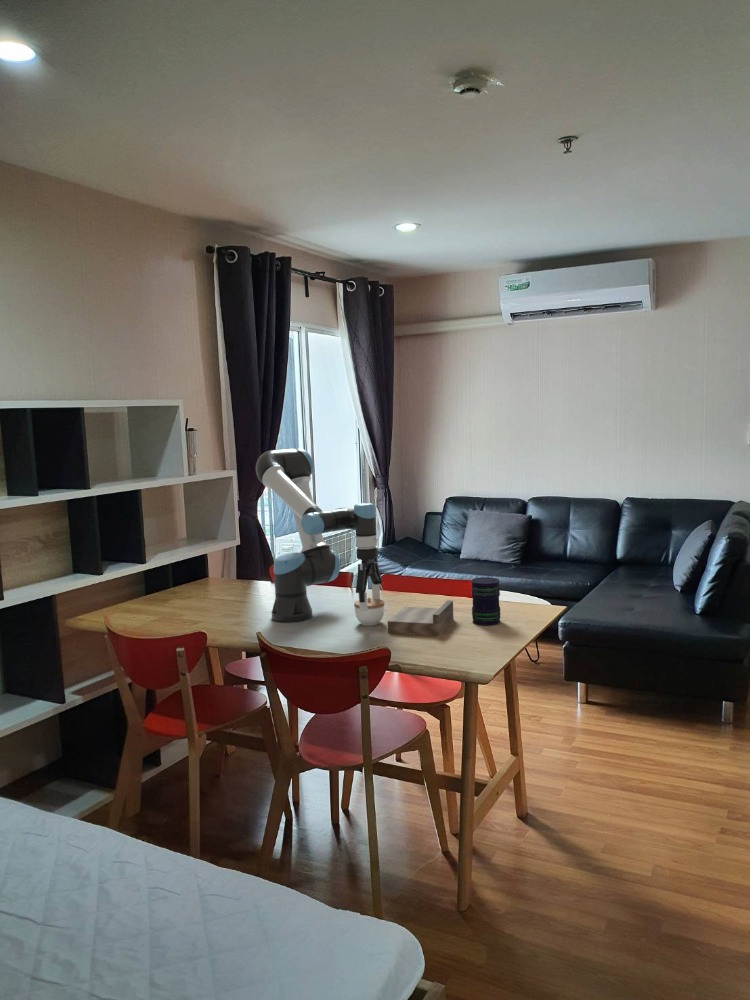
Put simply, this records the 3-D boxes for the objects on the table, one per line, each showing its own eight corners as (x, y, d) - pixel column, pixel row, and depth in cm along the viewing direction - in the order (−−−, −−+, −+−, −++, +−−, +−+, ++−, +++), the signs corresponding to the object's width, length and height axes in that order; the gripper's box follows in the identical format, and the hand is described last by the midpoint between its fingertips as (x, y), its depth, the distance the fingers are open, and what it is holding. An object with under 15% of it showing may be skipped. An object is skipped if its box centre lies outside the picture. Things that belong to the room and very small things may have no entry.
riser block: (388, 632, 261) (387, 612, 261) (405, 617, 280) (404, 598, 279) (439, 635, 255) (438, 614, 255) (453, 619, 274) (452, 600, 273)
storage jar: (471, 626, 265) (470, 583, 263) (472, 618, 275) (471, 577, 273) (501, 626, 264) (500, 583, 262) (500, 618, 273) (499, 577, 272)
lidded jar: (382, 627, 268) (380, 601, 267) (352, 627, 270) (350, 601, 269) (387, 619, 278) (386, 594, 277) (358, 619, 280) (357, 594, 279)
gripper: (364, 553, 258) (368, 615, 260) (388, 541, 281) (391, 598, 283) (344, 553, 261) (347, 614, 263) (368, 541, 284) (372, 598, 286)
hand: (370, 606), depth 273 cm, fingers open, 13 cm apart
